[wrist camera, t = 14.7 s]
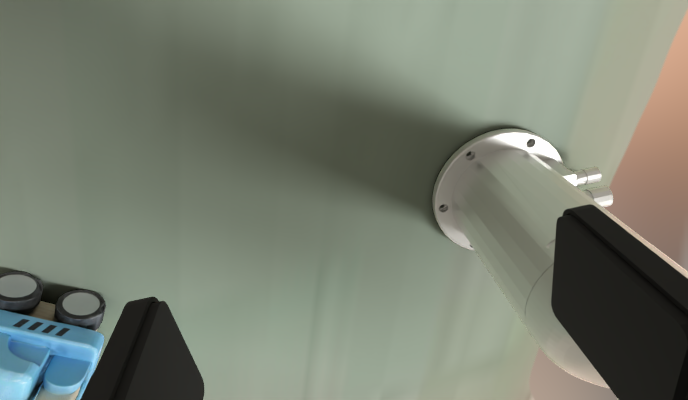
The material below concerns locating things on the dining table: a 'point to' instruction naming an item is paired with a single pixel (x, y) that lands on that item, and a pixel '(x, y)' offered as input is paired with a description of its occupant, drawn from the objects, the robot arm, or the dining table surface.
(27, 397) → the toy excavator
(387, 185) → the dining table surface
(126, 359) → the robot arm
